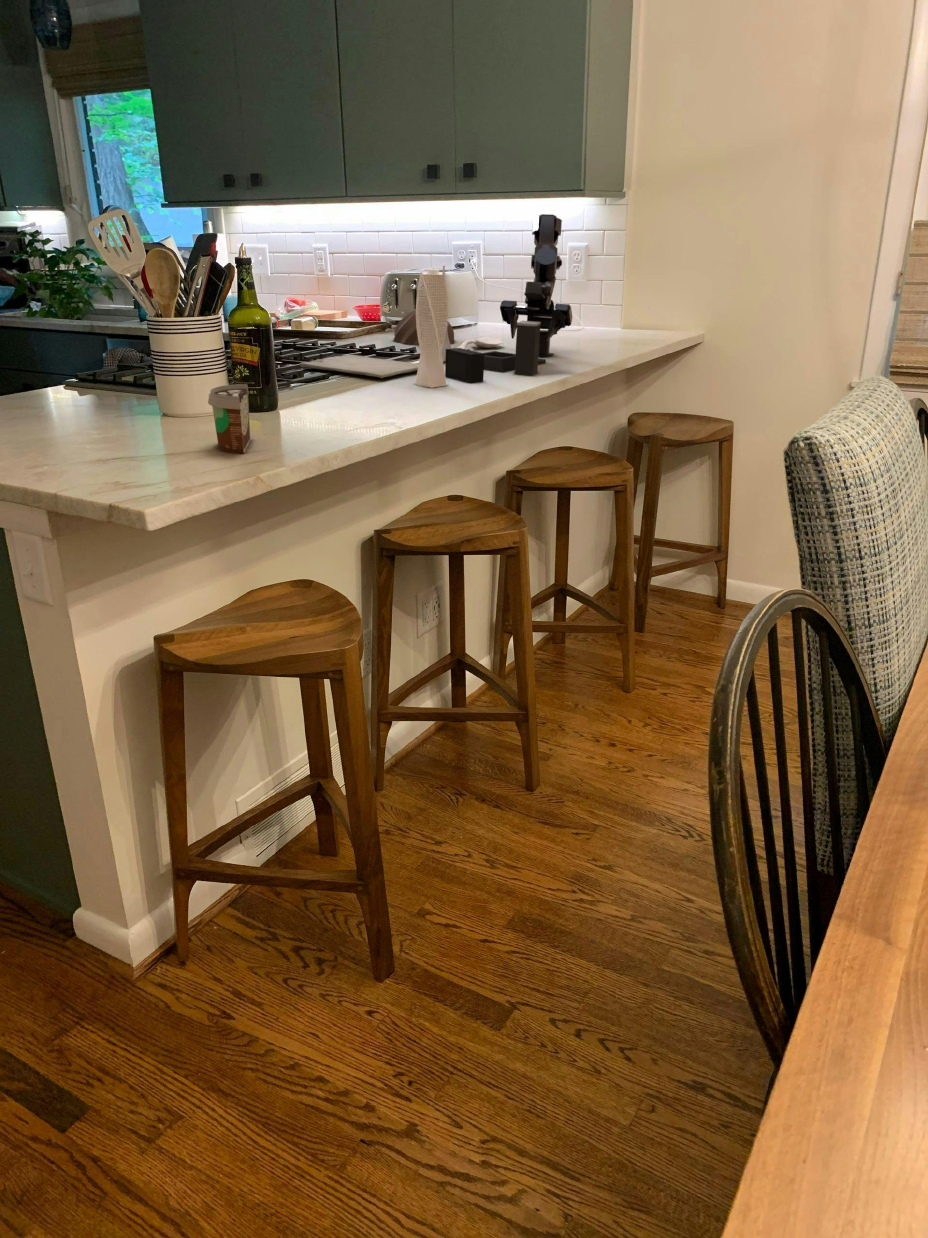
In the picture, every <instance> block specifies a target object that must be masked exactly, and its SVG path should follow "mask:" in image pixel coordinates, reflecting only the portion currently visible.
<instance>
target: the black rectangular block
mask: <svg viewBox="0 0 928 1238" xmlns="http://www.w3.org/2000/svg"><path fill="white" fill-rule="evenodd" d="M451 348H452V347H451ZM484 353H485V352H480V351H475V350H471V349H468V348H467V349H466V348H465V349H462V348H458V347H453V348H452V349H446V360H445V362H444V364H445V366H444V372H445V378H449V379H454V380H457V381H461V382H466V383H469V384H472V383H482V382H484V375H485V374H484V373H485V370H484Z"/></svg>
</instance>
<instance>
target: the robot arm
mask: <svg viewBox="0 0 928 1238" xmlns="http://www.w3.org/2000/svg"><path fill="white" fill-rule="evenodd" d="M562 223H563V219H561V218H559V217H557V215H555V214H545V213H541V214H539V215H538V216H537V217H534V218H532V230H531V235H532V236H533V244H534V245H535V247H534V254H531V257H530V258H531V259H530V260H531V261H530V269H532V270H533V274H534V279H533V281H526V282H525V286H524V293H523V295H524V296H525V298H524V303H525V305H526V306H523V305H518V302H517V300H505V299H504V300H502V301H501V302H500V306H499V311H500V315H501V319H502V321H503V322H504V323H506V324H507V325H509V327H510V336H511V340H512V339H514V338H515V337H516V334H517V323H518V321H519V317H520V316H527V317H526V321H534V322H541V324H540V340H539V356H538V358H545V357H549V356H554V354H555V353H554V352H550V348H551V347H550V346H551V338H552V337H553V336H555V335H558V332H559V331H560V330H561V329H565V328H566V327H570V326H571V325H572V322H573V311H572V305H570V304H568V303H555V304H554V301H553V299H552V297H553V293H554V289H555V285H556V280H557V277H556V274H557V271H559V270H560V268H561V267H562V265H563V260H562V259H561V256H560V255H558V252H559V251H558V247H557V246H558V244H559V237H560V236H562V227H563V225H562Z"/></svg>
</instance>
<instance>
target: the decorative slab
mask: <svg viewBox="0 0 928 1238" xmlns="http://www.w3.org/2000/svg"><path fill="white" fill-rule="evenodd" d="M299 366H300V367H301V368H304V369H305V368H306V369H314V370H322V371H333V372H340V373H346V374H353V375H361V376H367V377H376V378H380V379H384V378H388V377H393V376H396V375H401V374H406V373H410V372H411V373H412V372H415V371H418V366H419V363H416V362H415V363H414V362H408V361H407V362H406V361H402V360H401V361H400V360H393V359H384V358H376V357H370V356H369V357H368V356H362V355H356V354H345V355H341V356H331V357H324V358H316V359H315V360H313V361H303V362H300V363H299Z"/></svg>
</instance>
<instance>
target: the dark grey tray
mask: <svg viewBox="0 0 928 1238" xmlns="http://www.w3.org/2000/svg"><path fill="white" fill-rule="evenodd" d="M483 353H484V371H490V372H496V373H505V372H511V371H515V354H516V353H512V352H504V351H496V350H491V351H485V352H483ZM546 362H547V359H545V358H540V357H538V366H540V365H543V364H546Z"/></svg>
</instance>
